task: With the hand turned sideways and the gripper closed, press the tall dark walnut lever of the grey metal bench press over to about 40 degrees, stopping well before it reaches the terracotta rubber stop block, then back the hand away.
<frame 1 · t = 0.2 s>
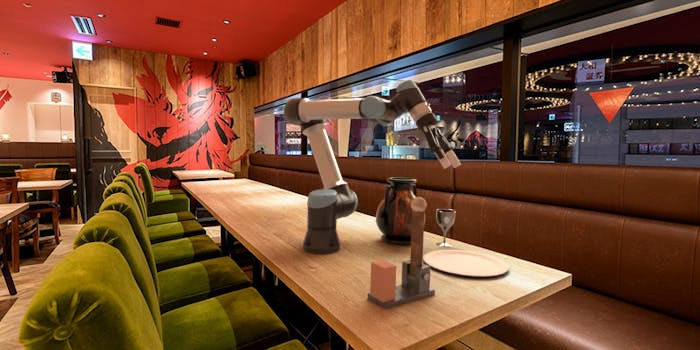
hand: (452, 166, 128), 35 cm above the table, tool tilted 35°, fingers open, 13 cm apart
plate: (464, 266, 129), on the table
stop block: (382, 296, 96), resting on press base
wine glass: (444, 245, 155), on the table
press base: (414, 293, 102), on the table
lever: (417, 236, 101), point 16 cm above the table, hinge at 0.0°
amphora vase: (399, 242, 158), on the table
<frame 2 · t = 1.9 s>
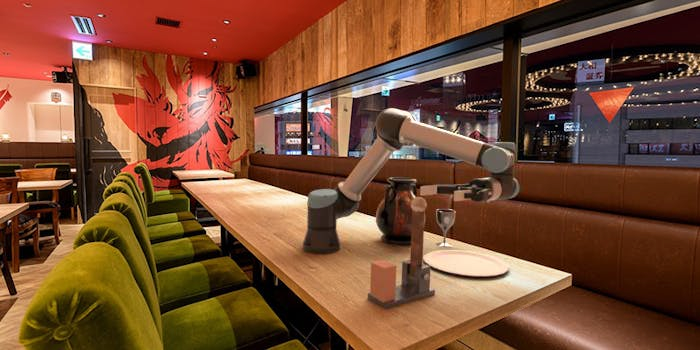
hand: (437, 193, 104), 28 cm above the table, tool horizontal, fingers open, 12 cm apart
nothing on the table moved.
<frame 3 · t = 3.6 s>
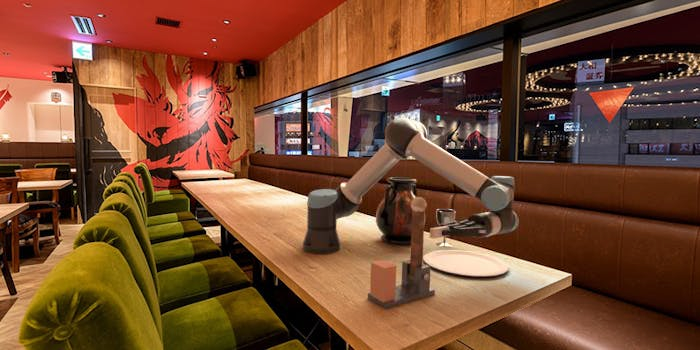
hand: (431, 233, 104), 17 cm above the table, tool horizontal, fingers closed
nothing on the table moved.
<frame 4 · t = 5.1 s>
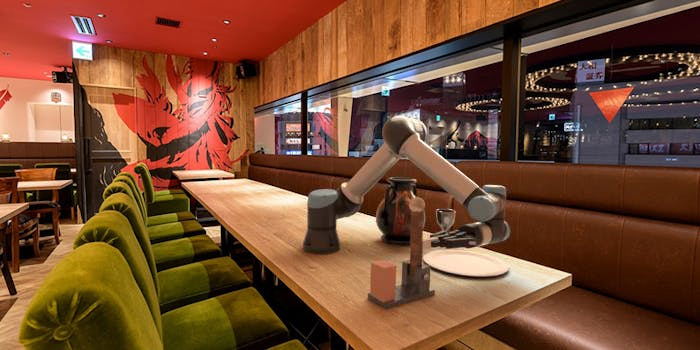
hand: (420, 245, 102), 14 cm above the table, tool horizontal, fingers closed
lever: (416, 237, 101), point 16 cm above the table, hinge at 1.9°, touching gripper
everything else where it was.
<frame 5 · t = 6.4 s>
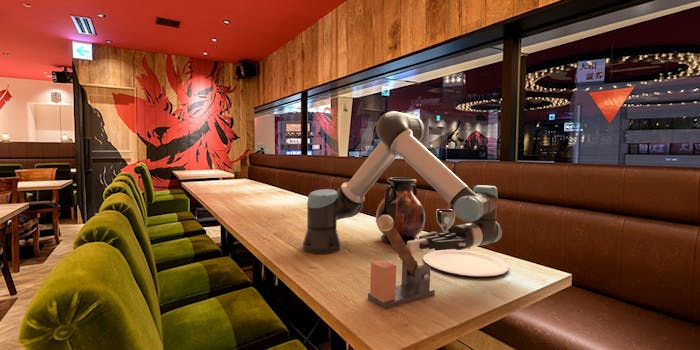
hand: (408, 246, 99), 14 cm above the table, tool horizontal, fingers closed
lever: (400, 247, 98), point 14 cm above the table, hinge at 37.5°, touching gripper
everything else where it was.
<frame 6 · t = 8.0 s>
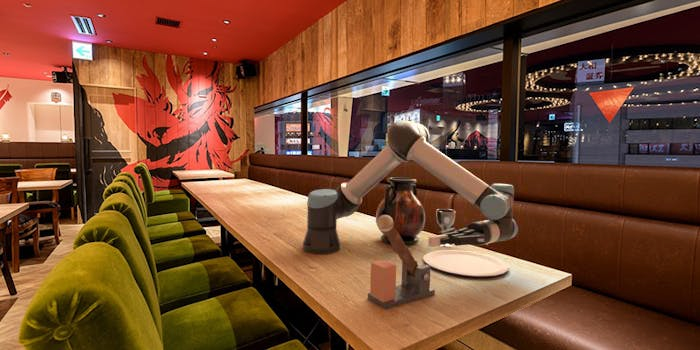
hand: (430, 241, 104), 14 cm above the table, tool horizontal, fingers closed
lever: (400, 247, 98), point 14 cm above the table, hinge at 37.7°
everything else where it was.
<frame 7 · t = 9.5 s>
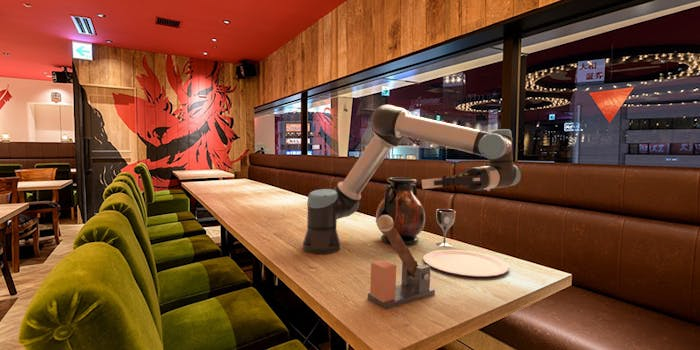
hand: (423, 184, 106), 31 cm above the table, tool horizontal, fingers closed
nothing on the table moved.
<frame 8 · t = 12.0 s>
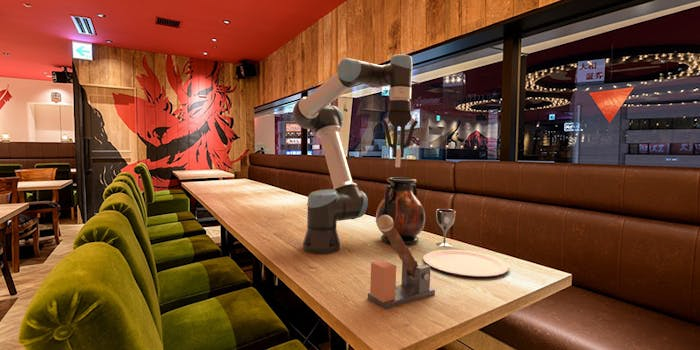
hand: (397, 166, 129), 34 cm above the table, tool pointing down, fingers closed
nothing on the table moved.
at the end: lever at +38° (first picture: +0°); lever touching nothing; the gripper is holding nothing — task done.
